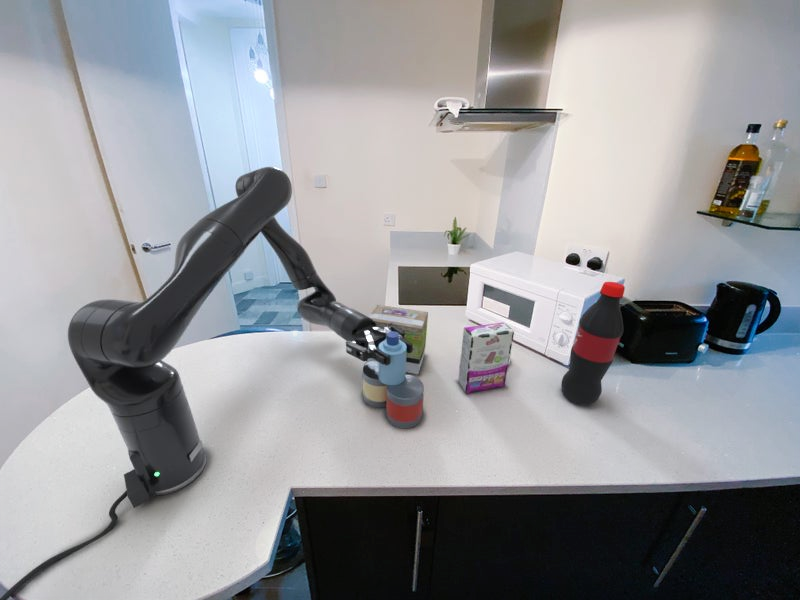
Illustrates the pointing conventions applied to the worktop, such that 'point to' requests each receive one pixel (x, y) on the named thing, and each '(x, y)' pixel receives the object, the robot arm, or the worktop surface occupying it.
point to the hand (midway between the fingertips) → (400, 355)
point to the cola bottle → (594, 346)
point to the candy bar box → (485, 356)
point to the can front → (405, 402)
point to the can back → (373, 385)
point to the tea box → (413, 327)
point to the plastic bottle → (393, 360)
